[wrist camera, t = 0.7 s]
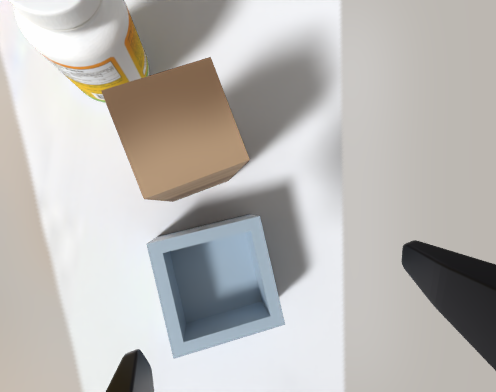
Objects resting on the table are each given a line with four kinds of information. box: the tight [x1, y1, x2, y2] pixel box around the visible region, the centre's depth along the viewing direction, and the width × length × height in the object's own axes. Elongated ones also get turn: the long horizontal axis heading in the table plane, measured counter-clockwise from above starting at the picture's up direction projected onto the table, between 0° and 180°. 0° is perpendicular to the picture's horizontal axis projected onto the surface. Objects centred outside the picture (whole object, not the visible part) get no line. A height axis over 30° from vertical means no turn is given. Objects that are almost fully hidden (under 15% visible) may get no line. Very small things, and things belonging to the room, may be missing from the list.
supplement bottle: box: [8, 0, 149, 103], centre depth 17 cm, size 5×5×10 cm
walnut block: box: [101, 57, 250, 202], centre depth 17 cm, size 4×4×11 cm
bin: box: [147, 214, 285, 358], centre depth 21 cm, size 7×7×4 cm
